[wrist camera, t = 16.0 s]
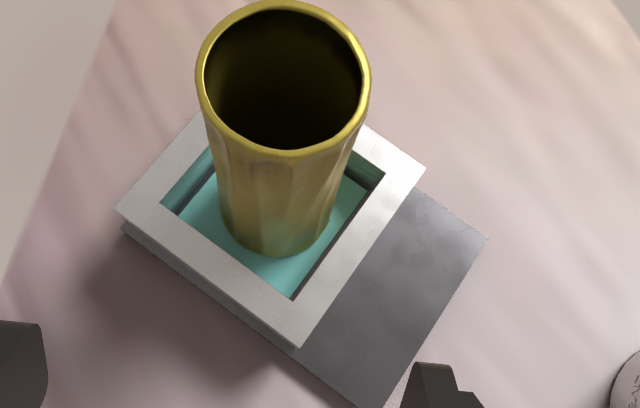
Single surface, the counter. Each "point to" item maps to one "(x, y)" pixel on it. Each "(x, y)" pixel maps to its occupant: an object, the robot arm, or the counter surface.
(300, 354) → the grey tray
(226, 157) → the vase
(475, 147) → the counter surface
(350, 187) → the plate
